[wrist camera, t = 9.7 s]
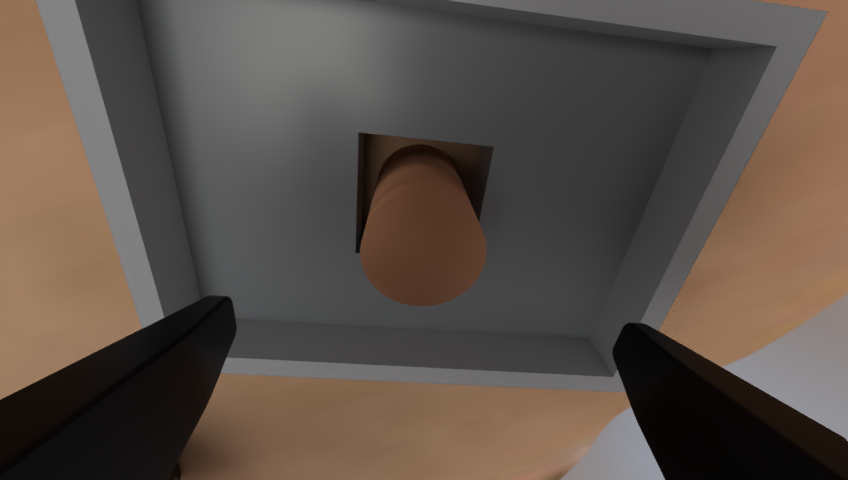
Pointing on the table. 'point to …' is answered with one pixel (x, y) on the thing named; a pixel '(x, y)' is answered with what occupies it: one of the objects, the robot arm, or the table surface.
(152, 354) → the robot arm
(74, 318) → the table surface
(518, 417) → the table surface
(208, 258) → the socket box
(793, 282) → the table surface
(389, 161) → the peg
